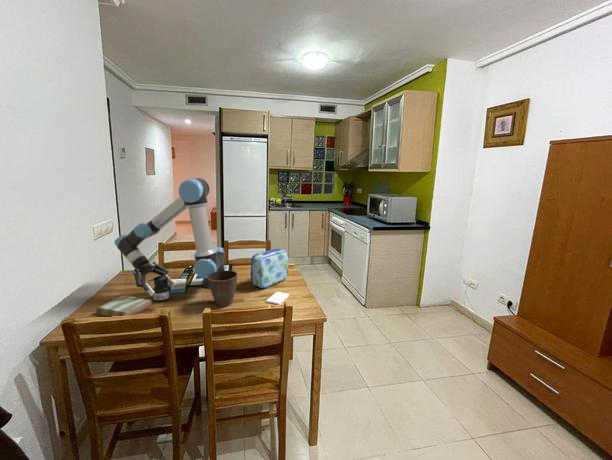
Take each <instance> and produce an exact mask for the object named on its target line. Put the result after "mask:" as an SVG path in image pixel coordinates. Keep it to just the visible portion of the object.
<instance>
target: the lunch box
mask: <svg viewBox="0 0 612 460" xmlns="http://www.w3.org/2000/svg"><path fill="white" fill-rule="evenodd" d="M288 274H289V253H288V252H287V250H282V249H280V248H274V249H270V250H266V251H262V252H257V253H255V254H253V255H252V256H251V259H250V283H251V285H253V286H257V287H259V288H262V289H266V288H269V287H271V286H273V285H276V284H277V283H281V282H282V281H285V280H286V279H287V278H288Z"/></svg>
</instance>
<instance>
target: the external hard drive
mask: <svg viewBox="0 0 612 460" xmlns="http://www.w3.org/2000/svg"><path fill="white" fill-rule="evenodd" d="M289 296H290V293H287V292H286V293H285V292H282V291H276V292H275V293H273V294H272V295H271V296H270V297H269V298H267V299H266V300H265V303H268V304H272V305H276V304H280V305H281V304H282V303H283V302H284V301H286V300H287V298H289Z"/></svg>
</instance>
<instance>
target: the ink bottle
mask: <svg viewBox="0 0 612 460" xmlns="http://www.w3.org/2000/svg"><path fill="white" fill-rule="evenodd" d="M153 285H154V286H152V290H153V291H154V292H155V293H154V294H153V295H152V298H153V301H154V302H160V303H161V302H167V301H168V300H170V299H172V285H171V286H170V285H169V284H168V277H167V276H162V275H158V276H155V277H154V278H153Z"/></svg>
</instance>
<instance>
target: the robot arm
mask: <svg viewBox="0 0 612 460" xmlns="http://www.w3.org/2000/svg"><path fill="white" fill-rule="evenodd" d="M178 187H179V188H178V194H179V196H178V198H176V199H175V200H174V201H173V202H171V203H170V204H169V205H168V206H166V207H165V208H164V209H162V211H160V212H159V213H158V214H156V215H155V216H153V218H151V220H149V221H148V222H147V223H139V224H137V225H136V226H135V227H134V228H133V229H132V230H131V231H130V232H129V233H128V234H123V235H120V236H119V237H116V239H114V241H113V242H114V245H115V246H116V248H117V249H118V250H119V251H120V253H122V255H123V256H124V257H125V259H126V260H127V261H128V262H129V263H130V264H131V265H132V267H133V268H134V269H133V271H132V274H133V276H134V281H135V285H136V288H142V289H143V290H144V291H145V292H147V293H148V294H149V295H150V296H151V297H153V294H154V293H155V292H154V291H153V288H152V287H151V286H150V285H149V283H147V282H146V275H147V274H150V273H154V274H156V275H158V276H167V277H168V284H169V285H170V286H171V287H172V286H173V285H174V284H175V282H174V281H173V280H172V278H171V277H170V275H169V272H170V270H168V269H166V268H165V267H163V266H161V265H160V264H158V263H157V262H156V261H153V262H152V263H150V260H149V259H148V258H147V257H146V256H145V255H144V253H143V252H142V251H141V250H140V248H139V247H138V246H139V245H140V244H142V242H144V241H145V240H147V239H148V238H151V237H153V236H155V235H157V234H158V233H159V232H161V230H162V229H163V228H165V227H166V226H167V225H169V223H171V222H173V220H175V218H177V217H178V216H179V215H181V214H182V213H183V212H184V211H186V210H187V209H188V213H189V220H190V225H191V231H192V234H193V239H194V240H193V241H194V245H195V251H196V252H195V253H194V254H193V255H194V260H195V262H194V265H193V271H194V273H195V274H196V276H199V277H200V278H201V279H202V286H203V287H204V288H206V289H207V288H208V289H210V286H209V283H208V278H207V276H208V275H209V274H211V273H213V272H217V271H224V270H225V251H224V247H220V246H213V242H212V238H211V232H210V226H209V221H208V215H207V210H206V205H207V204H208V198H207V197H208V195H209V193H210V185H209V183H208V182H207V181H206V179H203V178H199V177H198V178H197V177H196V178H187V179H186V180H184V181H182V182H181V183H180V185H179V186H178Z"/></svg>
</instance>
